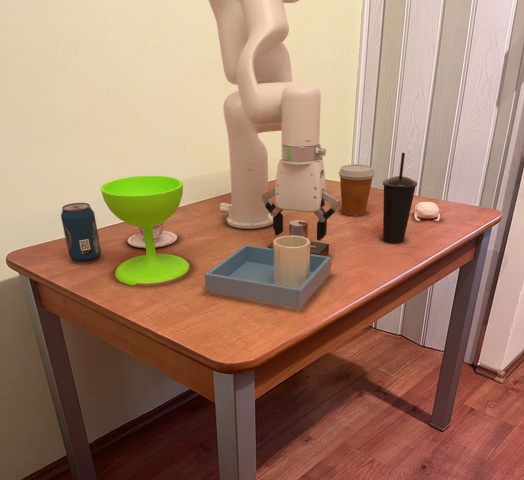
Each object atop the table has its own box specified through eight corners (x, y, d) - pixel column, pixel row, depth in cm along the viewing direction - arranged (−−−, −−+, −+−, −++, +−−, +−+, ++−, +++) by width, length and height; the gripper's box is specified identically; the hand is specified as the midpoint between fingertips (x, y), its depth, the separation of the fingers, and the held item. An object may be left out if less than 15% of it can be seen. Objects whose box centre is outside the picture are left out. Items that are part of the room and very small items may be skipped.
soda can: (68, 256, 123) (57, 204, 117) (99, 251, 125) (90, 200, 119) (72, 266, 118) (60, 212, 111) (104, 261, 120) (94, 208, 114)
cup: (268, 289, 105) (267, 244, 100) (281, 276, 110) (281, 233, 105) (301, 294, 102) (302, 249, 98) (313, 281, 107) (314, 237, 103)
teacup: (117, 241, 131) (113, 216, 128) (157, 229, 139) (154, 205, 135) (147, 253, 124) (144, 227, 121) (187, 239, 132) (185, 214, 128)
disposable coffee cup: (376, 210, 150) (380, 166, 143) (362, 219, 143) (366, 173, 137) (345, 206, 154) (348, 162, 148) (330, 214, 147) (332, 169, 141)
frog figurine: (441, 222, 140) (443, 207, 138) (414, 221, 141) (416, 207, 139) (436, 213, 147) (438, 199, 145) (411, 212, 148) (413, 198, 146)
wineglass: (125, 257, 122) (113, 175, 113) (195, 256, 122) (188, 175, 112) (105, 286, 108) (89, 196, 99) (184, 286, 108) (175, 196, 99)
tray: (205, 293, 105) (204, 274, 103) (245, 262, 118) (244, 244, 116) (300, 311, 98) (300, 290, 95) (330, 275, 111) (331, 256, 109)
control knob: (286, 246, 118) (286, 223, 115) (293, 240, 121) (293, 217, 118) (303, 249, 116) (304, 225, 113) (309, 243, 119) (310, 219, 117)
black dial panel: (265, 260, 119) (265, 247, 117) (280, 248, 125) (280, 235, 124) (317, 268, 115) (317, 254, 113) (329, 255, 121) (330, 242, 119)
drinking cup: (410, 246, 125) (422, 157, 115) (376, 244, 127) (385, 156, 116) (409, 235, 132) (420, 150, 121) (377, 234, 133) (385, 149, 123)
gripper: (347, 152, 108) (342, 235, 117) (268, 148, 115) (269, 227, 123) (335, 159, 102) (332, 246, 111) (253, 154, 109) (256, 237, 117)
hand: (299, 236), depth 117 cm, fingers open, 9 cm apart
